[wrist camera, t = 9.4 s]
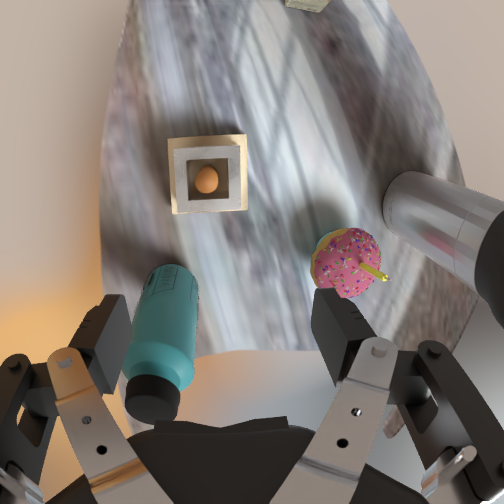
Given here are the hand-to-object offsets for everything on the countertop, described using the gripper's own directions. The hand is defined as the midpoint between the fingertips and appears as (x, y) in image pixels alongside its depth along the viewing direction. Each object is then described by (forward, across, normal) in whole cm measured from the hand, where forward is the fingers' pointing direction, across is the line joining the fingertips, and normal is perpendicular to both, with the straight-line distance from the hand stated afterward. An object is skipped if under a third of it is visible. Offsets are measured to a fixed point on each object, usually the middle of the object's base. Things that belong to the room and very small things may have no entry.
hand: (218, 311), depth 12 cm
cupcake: (+23, -14, +7) cm, 28 cm away
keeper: (+22, +1, -3) cm, 23 cm away
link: (+20, +1, -3) cm, 21 cm away
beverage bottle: (+22, +6, +10) cm, 25 cm away
